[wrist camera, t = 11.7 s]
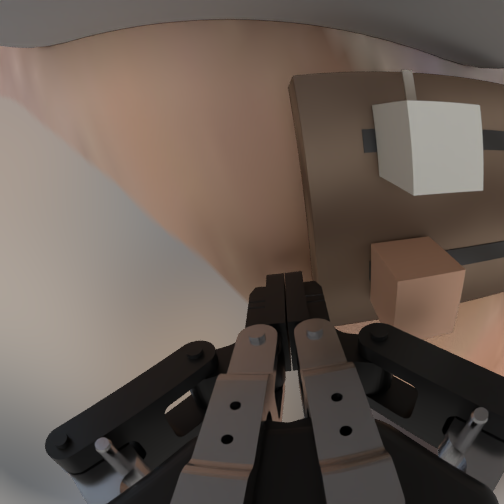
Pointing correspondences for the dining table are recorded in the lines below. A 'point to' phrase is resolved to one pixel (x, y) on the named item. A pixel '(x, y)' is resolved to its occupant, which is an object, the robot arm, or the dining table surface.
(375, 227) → the console
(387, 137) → the block
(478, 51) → the rounded white slab
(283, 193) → the dining table surface
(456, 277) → the block
